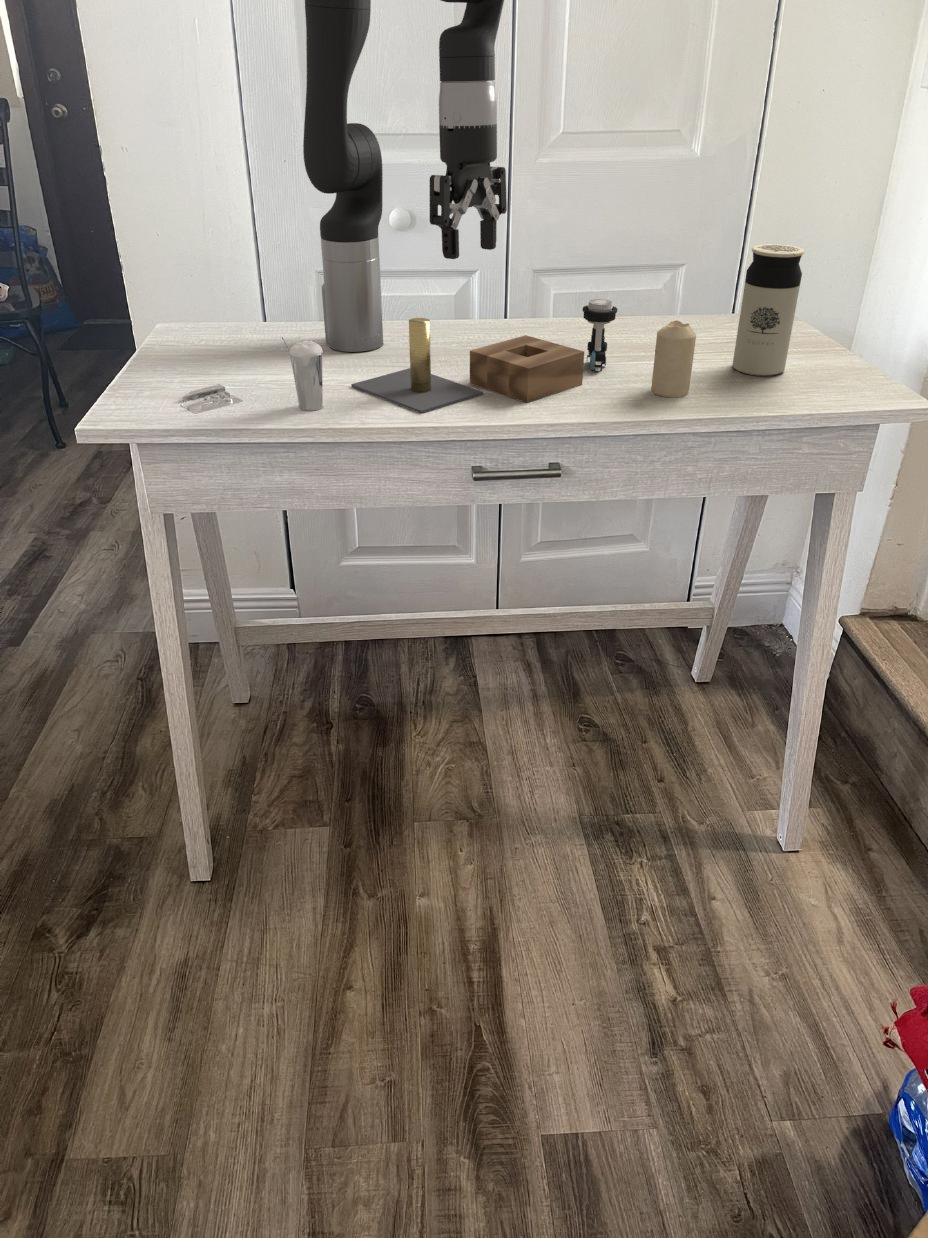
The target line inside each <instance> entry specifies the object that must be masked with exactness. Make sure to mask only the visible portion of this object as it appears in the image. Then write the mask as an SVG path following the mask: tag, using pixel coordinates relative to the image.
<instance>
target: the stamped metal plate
mask: <svg viewBox="0 0 928 1238" xmlns="http://www.w3.org/2000/svg"><path fill="white" fill-rule="evenodd" d="M201 398H204V400H202V401H198V402H194V403H190V404H187V405H186V404H185V403H188V402H190V401H193V400H197V399H201ZM182 401H183V402H182V403H181V404H179V407H181V408H183V409H185V410H187V411H188V412H191V413H192V414H196V415H197V414H200V413H205V412H209V411H212V410H216V409H221V408H224V407H228V406H232V405H237V404H239V403H244V402H245V400H243V399H241V398H239V397H237V396H234V395H232V394H230V392H228V391H226V387H225V386H224V385H221V384H216V385H211V386H207V387H203V388H200V389H196V390H190V391H189V392H187V393H186V394H184V395H183V396H182ZM184 404H185V405H184Z"/></svg>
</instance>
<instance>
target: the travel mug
mask: <svg viewBox="0 0 928 1238" xmlns="http://www.w3.org/2000/svg"><path fill="white" fill-rule="evenodd" d="M751 252H752V262H751V263H750V265H749V266H748V267H747V269H746V274H745V279H744V280H745V281H744V286H743V294H742V299H741V307H740V312H739V313H740V314H739V319H738V327H737V332H736V339H735V344H734V345H735V346H734V352H733V357H732V358H733V359H732V367H733V368H734V369H735V370H736V371H738V372H739V373H742V374H746V375H751V376H754V377H755V376H757V377H769V376H771V377H772V376H775V375H779V374H781V373H783V372H784V371H785V369H786V364H787V358H788V353H789V347H790V342H791V336H792V331H793V325H794V320H795V315H796V309H797V303H798V298H799V292H800V288H801V287H800V286H801V282H802V277H803V276H802V275H803V272H802V269H801V267H800V266H801V265H800V261H801V259H802V257H803V255H805V250H804V249H803V248H801V247H799V246H795V245H790V244H780V243H778V244H777V243H776V244H775V243H764V244H758V245H755V246H752V248H751Z"/></svg>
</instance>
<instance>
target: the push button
mask: <svg viewBox="0 0 928 1238" xmlns="http://www.w3.org/2000/svg"><path fill="white" fill-rule="evenodd" d="M582 312H583V319H585V321H587V323H589V324H592V326H593V327H592V329H591V330H592V331H591V335H590V336H591V338H590V341H588V342H587V349H586V350H587V351H588V353H587V354H586V362H585V363H586V364H585V365H586V366H588V358H589V364H590V370H591V371H596V372H601V371H603V365H604V367H606V365H607V355H606V352H607V351H608V342H606V341H605V339H606V337H605V331H606V328H605V325H608V324H610V323H611V322H613V321H615V319H616V315H617V313H618V307H616V306H614V305H613V301H612V300H610V299H604V298H603V299H602V298H596V299H595V298H594V299H591V300H589V301H588V305H584V306H583V307H582Z"/></svg>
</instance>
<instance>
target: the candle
mask: <svg viewBox="0 0 928 1238" xmlns="http://www.w3.org/2000/svg"><path fill="white" fill-rule="evenodd" d="M696 340H697V333H696V332H695V331H694V329H693V328H692V326H691V325H690V323H682V321H680V320H678V319H677V320H671V321H670V322H669V323H668V324H666V325H664V326H663V327H662V328H660V329H659V330H658V331H657V332H656V340H655V350H654V361H653V367H652V369H653V370H652V378H651V387H650V388H651V389H650V391H651V392H652V394H655V395H656V396H660V397H665V398H681V397H684V396H688V394H689V392H690V387H691V386H690V385H691V380H692V379H691V378H692V372H693V363H694V355H695V349H696Z"/></svg>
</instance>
